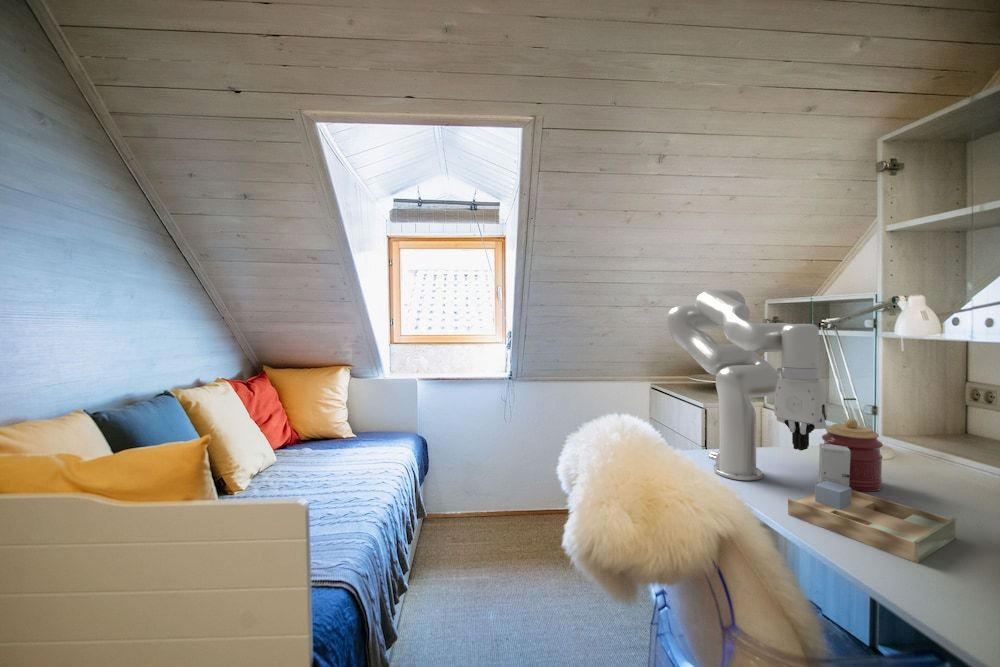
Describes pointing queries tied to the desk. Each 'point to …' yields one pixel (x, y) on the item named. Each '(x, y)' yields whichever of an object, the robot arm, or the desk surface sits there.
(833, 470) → the skincare box
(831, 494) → the block
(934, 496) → the desk surface
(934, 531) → the box
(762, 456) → the desk surface
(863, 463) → the canister
